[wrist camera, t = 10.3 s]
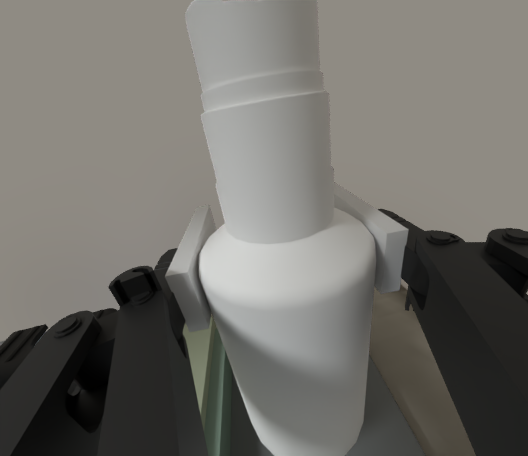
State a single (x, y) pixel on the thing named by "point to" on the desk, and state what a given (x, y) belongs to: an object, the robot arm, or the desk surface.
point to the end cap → (27, 348)
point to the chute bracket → (239, 424)
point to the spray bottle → (281, 228)
